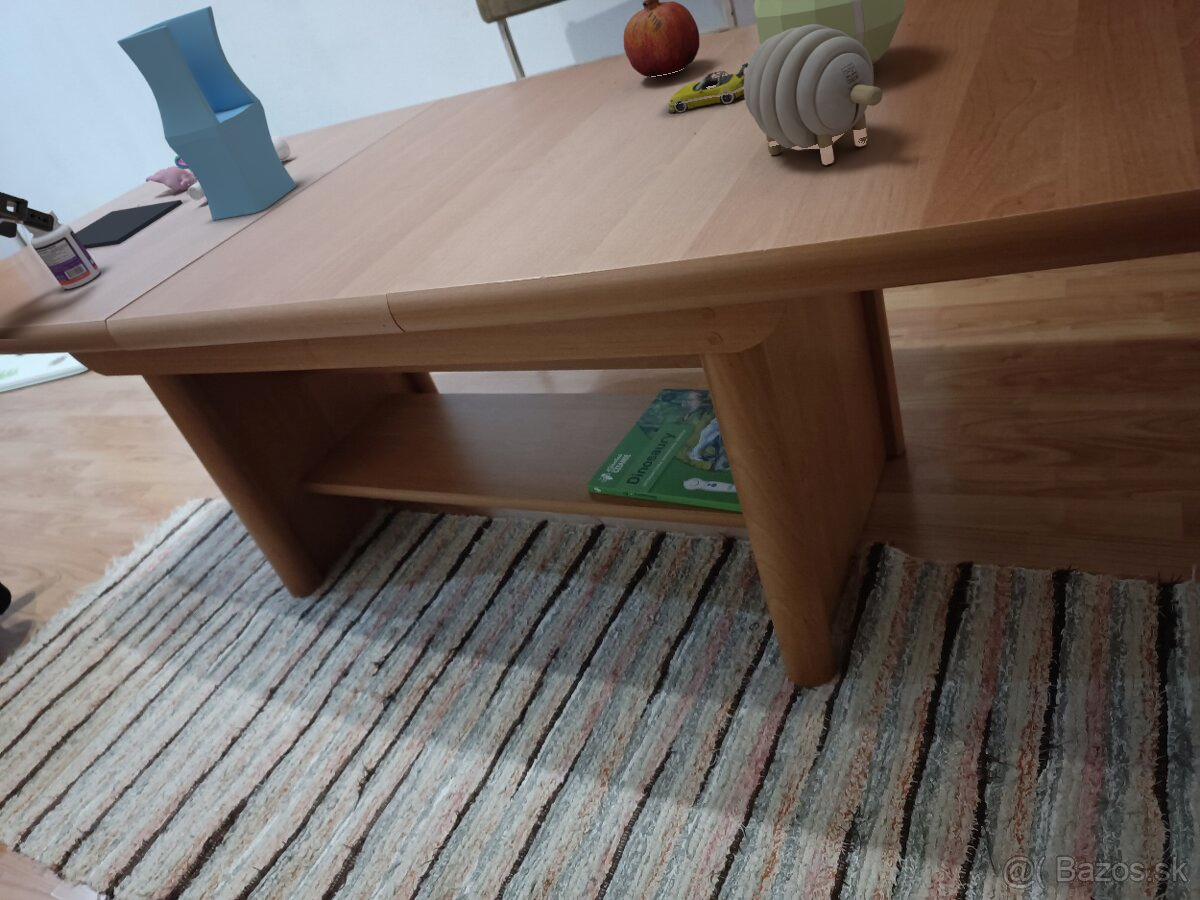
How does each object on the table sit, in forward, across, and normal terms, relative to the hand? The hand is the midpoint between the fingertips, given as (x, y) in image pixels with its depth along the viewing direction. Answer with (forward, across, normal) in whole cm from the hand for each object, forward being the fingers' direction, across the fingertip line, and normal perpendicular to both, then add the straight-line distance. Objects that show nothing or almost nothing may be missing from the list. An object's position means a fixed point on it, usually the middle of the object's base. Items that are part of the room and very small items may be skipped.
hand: (33, 227), depth 116 cm
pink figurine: (+31, +12, -18) cm, 38 cm away
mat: (+21, +15, -8) cm, 27 cm away
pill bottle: (+7, 0, +5) cm, 9 cm away
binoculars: (+29, -4, -17) cm, 34 cm away
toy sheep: (+15, -101, -2) cm, 102 cm away
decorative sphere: (+30, -99, -17) cm, 105 cm away
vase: (+22, -16, -10) cm, 29 cm away
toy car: (+30, -84, -17) cm, 90 cm away
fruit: (+39, -74, -27) cm, 88 cm away
